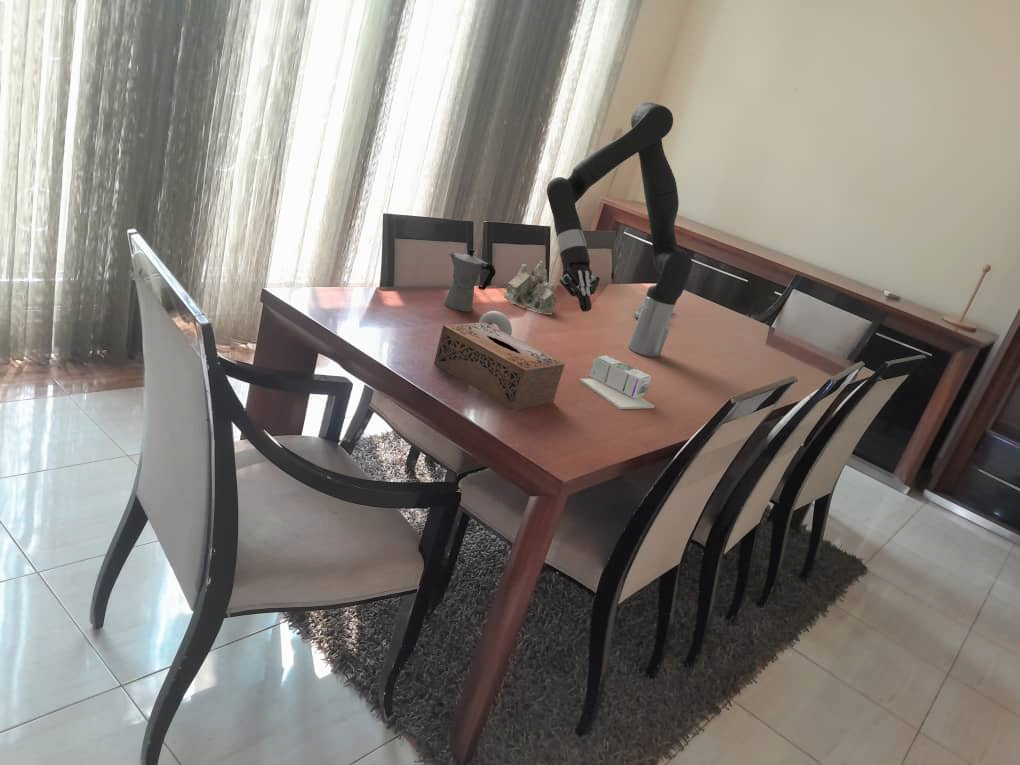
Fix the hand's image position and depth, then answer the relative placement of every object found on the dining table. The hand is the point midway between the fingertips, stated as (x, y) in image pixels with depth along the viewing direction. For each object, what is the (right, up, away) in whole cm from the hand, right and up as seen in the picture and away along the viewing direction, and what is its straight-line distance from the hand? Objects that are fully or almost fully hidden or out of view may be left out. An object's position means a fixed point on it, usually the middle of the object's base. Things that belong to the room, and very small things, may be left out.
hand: (586, 310), depth 198 cm
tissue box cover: (-25, -20, -24) cm, 39 cm away
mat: (+7, -22, -9) cm, 25 cm away
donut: (-26, -10, 0) cm, 28 cm away
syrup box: (+2, -14, -2) cm, 15 cm away
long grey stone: (+34, +6, +86) cm, 93 cm away
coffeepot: (-35, +3, +27) cm, 45 cm away
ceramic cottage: (-15, +6, +50) cm, 53 cm away
